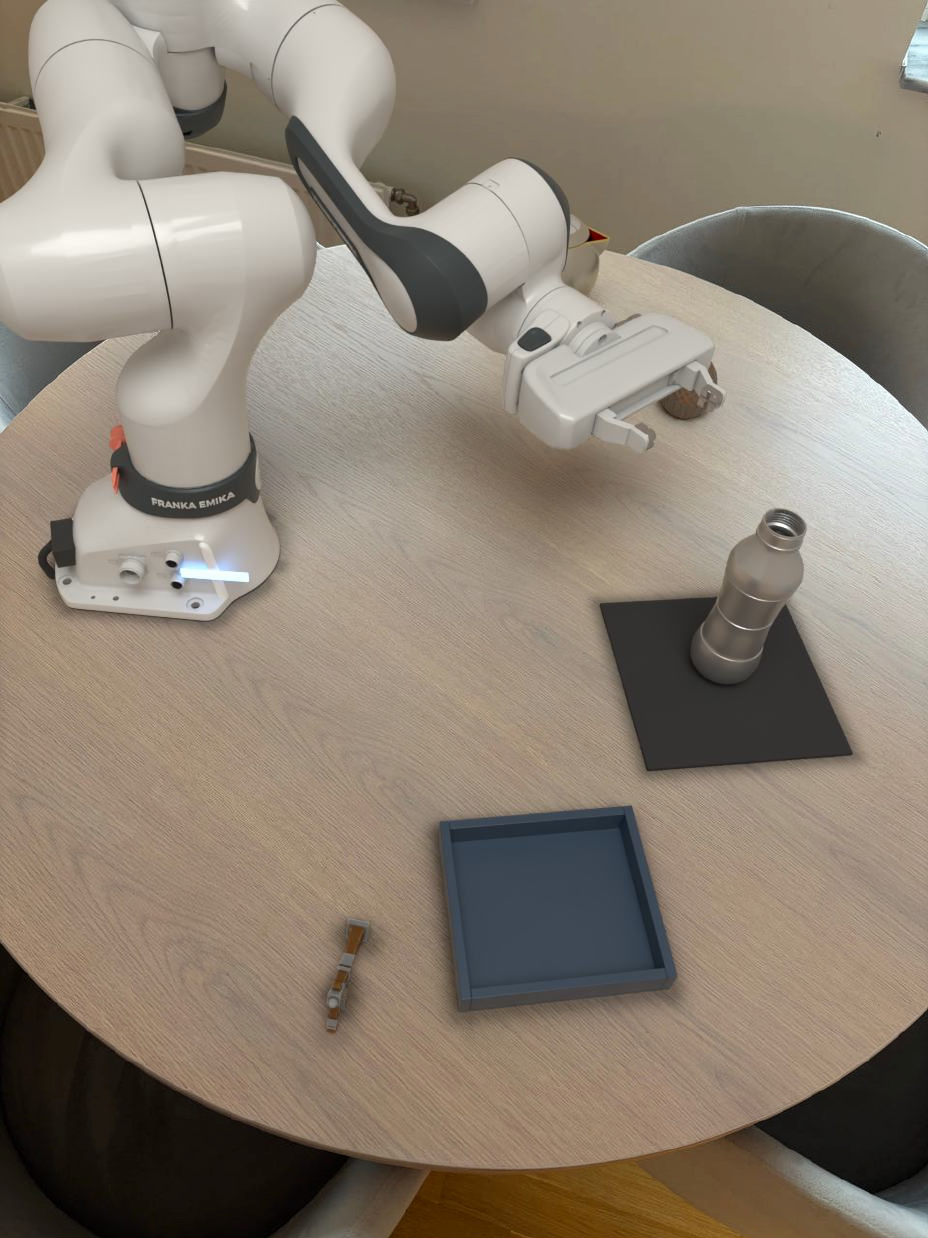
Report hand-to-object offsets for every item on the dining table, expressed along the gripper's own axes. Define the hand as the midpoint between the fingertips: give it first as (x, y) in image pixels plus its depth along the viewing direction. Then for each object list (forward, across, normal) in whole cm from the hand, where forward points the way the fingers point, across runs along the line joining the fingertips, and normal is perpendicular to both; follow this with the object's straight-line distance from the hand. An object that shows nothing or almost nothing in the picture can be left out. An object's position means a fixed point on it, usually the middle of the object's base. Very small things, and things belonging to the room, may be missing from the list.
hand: (685, 423), depth 81 cm
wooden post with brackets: (+12, +46, -24) cm, 53 cm away
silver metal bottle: (+11, -1, -24) cm, 26 cm away
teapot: (-46, -29, -24) cm, 59 cm away
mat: (+12, 0, -24) cm, 27 cm away
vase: (-18, -30, -24) cm, 43 cm away
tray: (+18, +30, -24) cm, 42 cm away
